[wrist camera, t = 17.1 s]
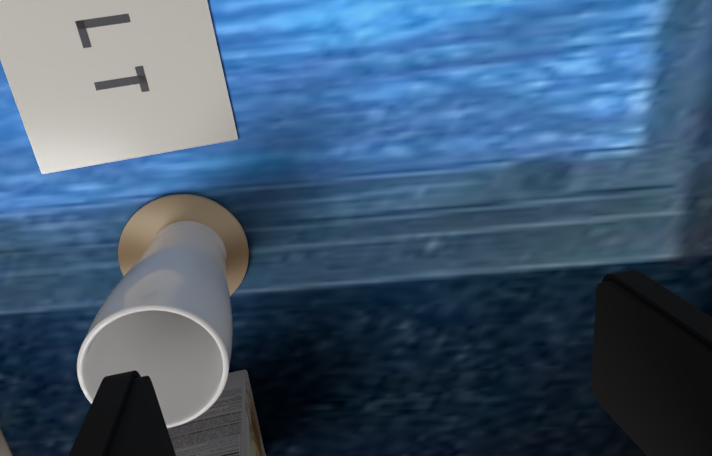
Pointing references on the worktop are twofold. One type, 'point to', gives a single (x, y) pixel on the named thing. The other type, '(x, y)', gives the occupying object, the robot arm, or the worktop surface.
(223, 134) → the tile
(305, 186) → the worktop surface
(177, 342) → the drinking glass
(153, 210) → the cork coaster
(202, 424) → the coffee box
